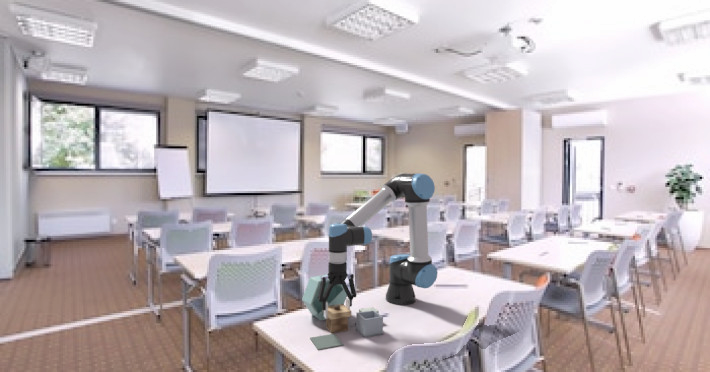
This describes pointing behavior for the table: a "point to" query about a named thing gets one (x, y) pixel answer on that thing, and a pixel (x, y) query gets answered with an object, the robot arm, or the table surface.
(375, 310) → the pale green block
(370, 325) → the blue-grey box
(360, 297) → the table surface
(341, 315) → the lid
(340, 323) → the walnut box
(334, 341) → the felt mat
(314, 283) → the planter
